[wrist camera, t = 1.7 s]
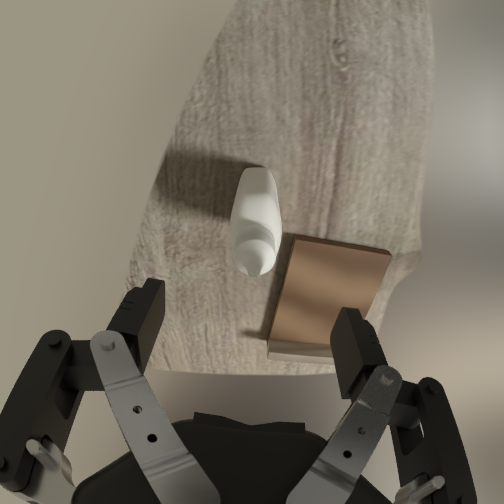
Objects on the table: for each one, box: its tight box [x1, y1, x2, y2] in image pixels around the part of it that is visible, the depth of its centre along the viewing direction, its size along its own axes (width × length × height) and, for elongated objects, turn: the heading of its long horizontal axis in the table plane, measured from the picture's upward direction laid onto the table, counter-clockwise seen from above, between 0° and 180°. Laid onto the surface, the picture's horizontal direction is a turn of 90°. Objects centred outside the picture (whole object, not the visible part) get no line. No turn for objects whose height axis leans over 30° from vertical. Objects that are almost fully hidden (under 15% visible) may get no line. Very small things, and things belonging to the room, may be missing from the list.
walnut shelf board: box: [267, 235, 392, 365], centre depth 30 cm, size 14×10×3 cm
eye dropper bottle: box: [230, 167, 282, 277], centre depth 21 cm, size 4×6×12 cm
